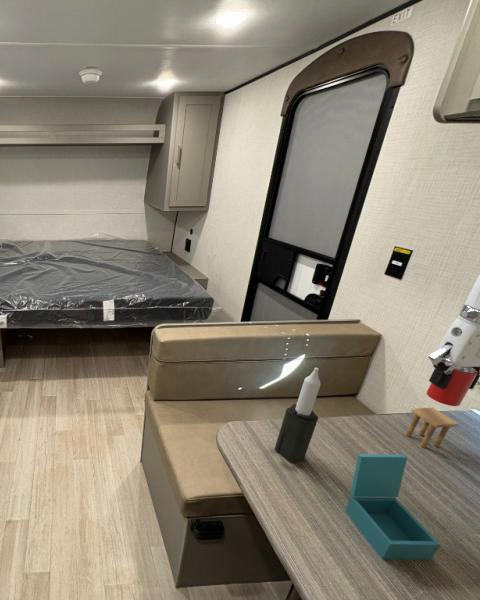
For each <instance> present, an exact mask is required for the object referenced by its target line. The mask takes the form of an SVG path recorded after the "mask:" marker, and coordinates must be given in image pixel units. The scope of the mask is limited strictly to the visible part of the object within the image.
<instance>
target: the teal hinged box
mask: <svg viewBox="0 0 480 600" xmlns="http://www.w3.org/2000/svg"><path fill="white" fill-rule="evenodd" d="M344 512H345V514H346V515H347V516H348V517H349V518H350V520H351V521H352V522H353V524H354V525H355V526H356V528H357V529H358V530H359V531H360V532H361V534H362V535H363V536H364V537H365V539H366V540H367V541H368V543H369V544H370V545H371V546H372V548H373V549H374V551H375V552H376V553H377V554H378V556H379V557H380V558H381V559H382V560H432V559H433V557H434V556H435V554H436V552H438V549H439V548H440V546H441V543H440V542H439V541H438V540H437V539H436V538H435V537H434V536H433V535H432V534H431V533H430V532H429V531H428V530H427V529H426V528H425V527H424V526H423V525H422V524H421V523H420V522H419V521H418V519H416V517H415V516H414V515H412V513H411V512H410V511H409V510H408V509H407V508H406V507H405V506H404V505H403V504H402V503H401V502H400V501H399V500H398V499H397V497H353V496H351V497H350V499H349V501H348V503H347V505H346V508H345V510H344Z"/></svg>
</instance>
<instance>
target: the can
mask: <svg viewBox="0 0 480 600" xmlns="http://www.w3.org/2000/svg"><path fill="white" fill-rule="evenodd" d="M444 364H445V365H446V366H448V365H449V364H450V363H449V362H447V361H446V362H445V363H444ZM450 374H451V375H452V377H451V379H450V381H449V382H448V384H447V386H446V388H445V389H441V388H439V387H438V386H436V385H434V384H433V383H431V382H430V385H429V387H428V389H427V390H426V396H428V397H429V398H430V399H432V400H434V402H438V403H440V404H443V405H444V406H445V405H446V406H451V407H459V406H460V405H462V402H463V400H464V399H465V397H466V395H467V394H468V392H469V390H470V389H469V388H470V386H471V384H472V383H473V381H474V379H475V377H476V375H477V374H478V372H477V370H475V369H474V368H472V367H465V366H457V367H456V368H455V369H454V370H453V371H452V372H451V373H450Z"/></svg>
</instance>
